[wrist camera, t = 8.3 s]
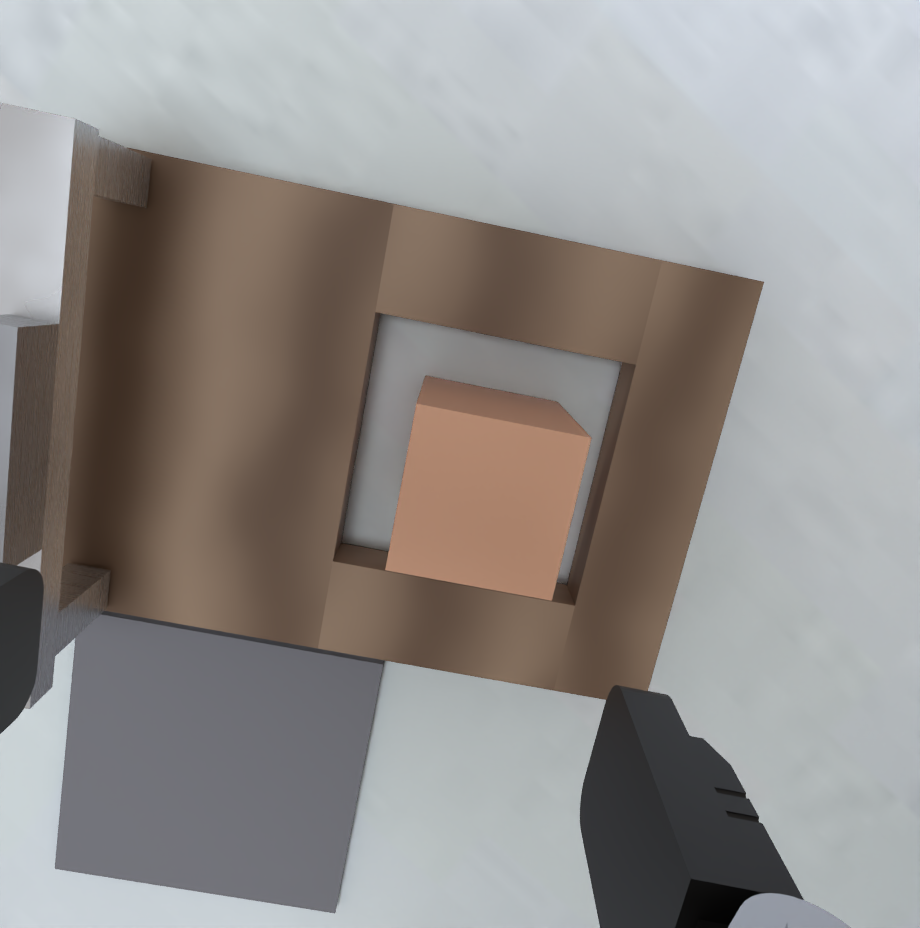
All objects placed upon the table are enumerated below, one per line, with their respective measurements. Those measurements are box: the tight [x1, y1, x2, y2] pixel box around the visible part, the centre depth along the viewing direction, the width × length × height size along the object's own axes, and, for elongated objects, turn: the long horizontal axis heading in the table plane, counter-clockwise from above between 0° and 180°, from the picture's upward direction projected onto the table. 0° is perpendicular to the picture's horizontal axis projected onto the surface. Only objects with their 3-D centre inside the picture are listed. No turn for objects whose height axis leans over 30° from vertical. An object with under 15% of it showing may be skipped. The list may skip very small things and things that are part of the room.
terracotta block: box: [385, 376, 591, 601], centre depth 25 cm, size 5×5×7 cm
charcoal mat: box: [55, 611, 384, 913], centre depth 31 cm, size 12×12×1 cm
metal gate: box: [0, 103, 151, 709], centre depth 21 cm, size 3×16×8 cm, turn 169°
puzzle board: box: [62, 147, 764, 700], centre depth 27 cm, size 28×16×2 cm, turn 79°
